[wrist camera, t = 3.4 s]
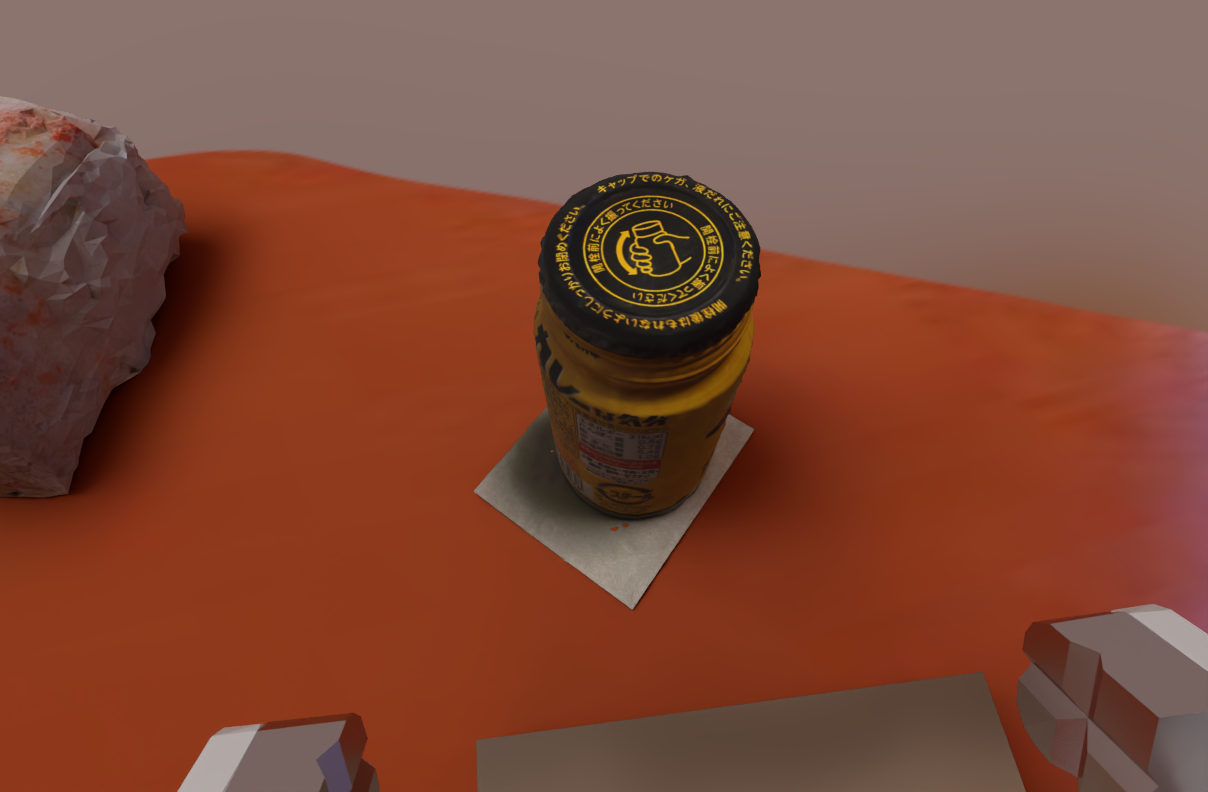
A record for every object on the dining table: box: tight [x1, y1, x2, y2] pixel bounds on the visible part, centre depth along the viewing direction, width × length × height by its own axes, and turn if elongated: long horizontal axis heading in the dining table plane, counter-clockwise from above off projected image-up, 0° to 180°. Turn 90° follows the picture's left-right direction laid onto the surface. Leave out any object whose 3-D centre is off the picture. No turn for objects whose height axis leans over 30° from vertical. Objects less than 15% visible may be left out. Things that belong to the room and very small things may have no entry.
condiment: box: [474, 172, 761, 609], centre depth 20 cm, size 7×8×12 cm
